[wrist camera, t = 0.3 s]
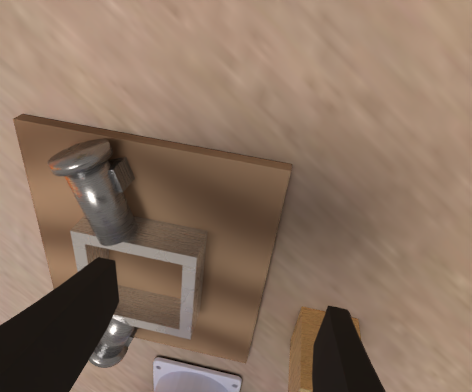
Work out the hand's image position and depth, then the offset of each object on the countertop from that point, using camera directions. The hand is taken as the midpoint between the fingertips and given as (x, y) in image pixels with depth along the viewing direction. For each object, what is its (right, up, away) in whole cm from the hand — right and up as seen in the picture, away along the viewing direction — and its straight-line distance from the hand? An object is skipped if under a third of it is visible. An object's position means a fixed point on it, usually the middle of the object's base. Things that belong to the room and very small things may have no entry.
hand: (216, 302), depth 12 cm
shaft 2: (-8, -6, +16) cm, 19 cm away
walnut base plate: (-5, -1, +13) cm, 14 cm away
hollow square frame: (-5, -1, +13) cm, 14 cm away
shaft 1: (-7, +4, +9) cm, 12 cm away
